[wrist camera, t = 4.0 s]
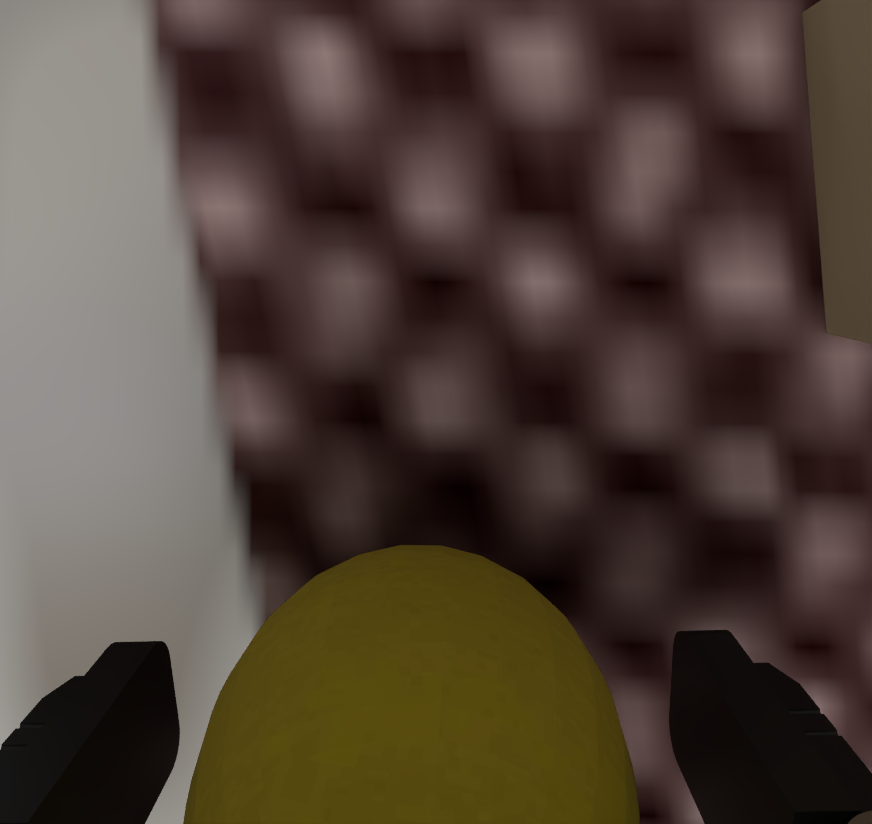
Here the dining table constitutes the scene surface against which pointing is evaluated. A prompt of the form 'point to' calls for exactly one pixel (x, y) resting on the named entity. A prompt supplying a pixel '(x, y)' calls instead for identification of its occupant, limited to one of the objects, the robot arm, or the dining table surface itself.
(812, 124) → the block oak
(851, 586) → the dining table surface
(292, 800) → the lemon
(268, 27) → the dining table surface
